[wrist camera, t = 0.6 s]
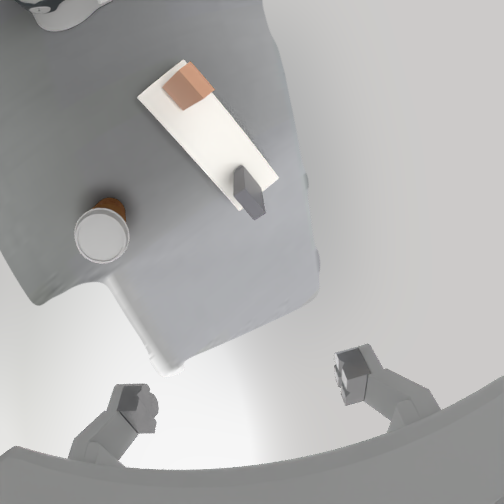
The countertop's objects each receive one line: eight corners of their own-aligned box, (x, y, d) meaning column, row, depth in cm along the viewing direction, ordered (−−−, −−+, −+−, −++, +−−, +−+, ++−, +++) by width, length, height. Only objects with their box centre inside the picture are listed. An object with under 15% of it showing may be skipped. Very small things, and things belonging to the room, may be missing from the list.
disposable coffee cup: (128, 184, 50) (121, 204, 40) (137, 230, 55) (135, 260, 45) (81, 195, 48) (65, 218, 38) (93, 240, 53) (82, 271, 43)
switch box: (228, 197, 58) (239, 211, 51) (139, 98, 44) (136, 97, 37) (264, 167, 57) (279, 177, 50) (180, 65, 43) (184, 58, 36)
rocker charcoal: (251, 190, 50) (254, 220, 43) (233, 169, 47) (233, 196, 40) (260, 184, 50) (265, 213, 42) (243, 162, 47) (245, 188, 40)
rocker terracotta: (180, 112, 40) (203, 98, 32) (159, 89, 37) (178, 69, 30) (189, 104, 40) (214, 89, 33) (169, 81, 38) (190, 61, 30)
